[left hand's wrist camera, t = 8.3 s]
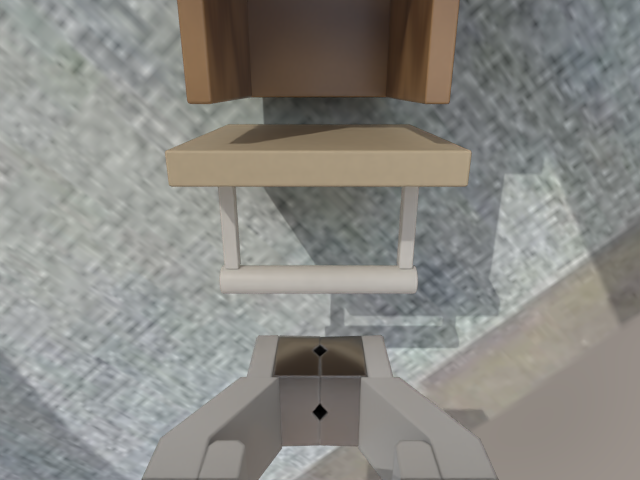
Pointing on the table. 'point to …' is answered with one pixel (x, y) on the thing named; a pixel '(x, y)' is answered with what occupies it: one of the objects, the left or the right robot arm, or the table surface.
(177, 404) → the table surface
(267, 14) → the drawer
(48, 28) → the table surface
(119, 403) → the table surface
